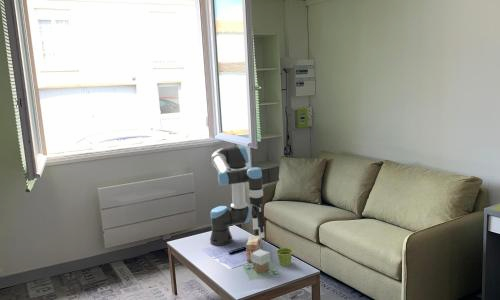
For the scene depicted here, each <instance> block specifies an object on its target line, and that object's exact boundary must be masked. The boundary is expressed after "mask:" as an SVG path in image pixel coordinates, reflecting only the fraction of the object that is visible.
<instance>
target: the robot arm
mask: <svg viewBox="0 0 500 300" xmlns="http://www.w3.org/2000/svg"><path fill="white" fill-rule="evenodd" d="M248 155H249V154H248V151H247V149H246V147H245V146H244V145H235V146H226V147H221V148H218V149H216V150H215V151H213V153H212V154H211V156H210V163H211V165H212V166H213V168H215V169H216V172H217V181H218V185H219V186H228V185H231V197H232V203H230V207H228V206H226V205H218V206H216V207H214V208H212V209H211V210H210V222H211V223H210V224H211V235H210V238H209V240H210V241H209V242H210V244H211V245H214V246H224V245H225V246H226V245H228V244H230V243H232V242H233V240H234V239H233V235H232V233H231V231H230V226H234V225H242V224H243V225H244V224H247V223H249V222H250V220H251V217H252V228H253V230H258V236H259V238H261V239H263V238H265V226H266V224H265V218H264V213H263V207H262V206H261V205H262V204H264V188H263V186H264V185H263V173H262V169H261V167H257V166H255V167H250V166H247V164H248V163H249V160H250V159H249V156H248ZM245 183H248V191H247V192H248V195H249V204H250V205H251V206H250V205H249V204H248V202H247V201H246V191H245V190H246V188H245Z"/></svg>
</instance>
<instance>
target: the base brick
mask: <svg viewBox="0 0 500 300" xmlns="http://www.w3.org/2000/svg"><path fill="white" fill-rule="evenodd" d="M252 263H253V264H254V270H255V271H256V273H263V272H267V271H268V270H269V264H268V262H267V263H265V264H263V265H259V264H256V263H254V262H252Z"/></svg>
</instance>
